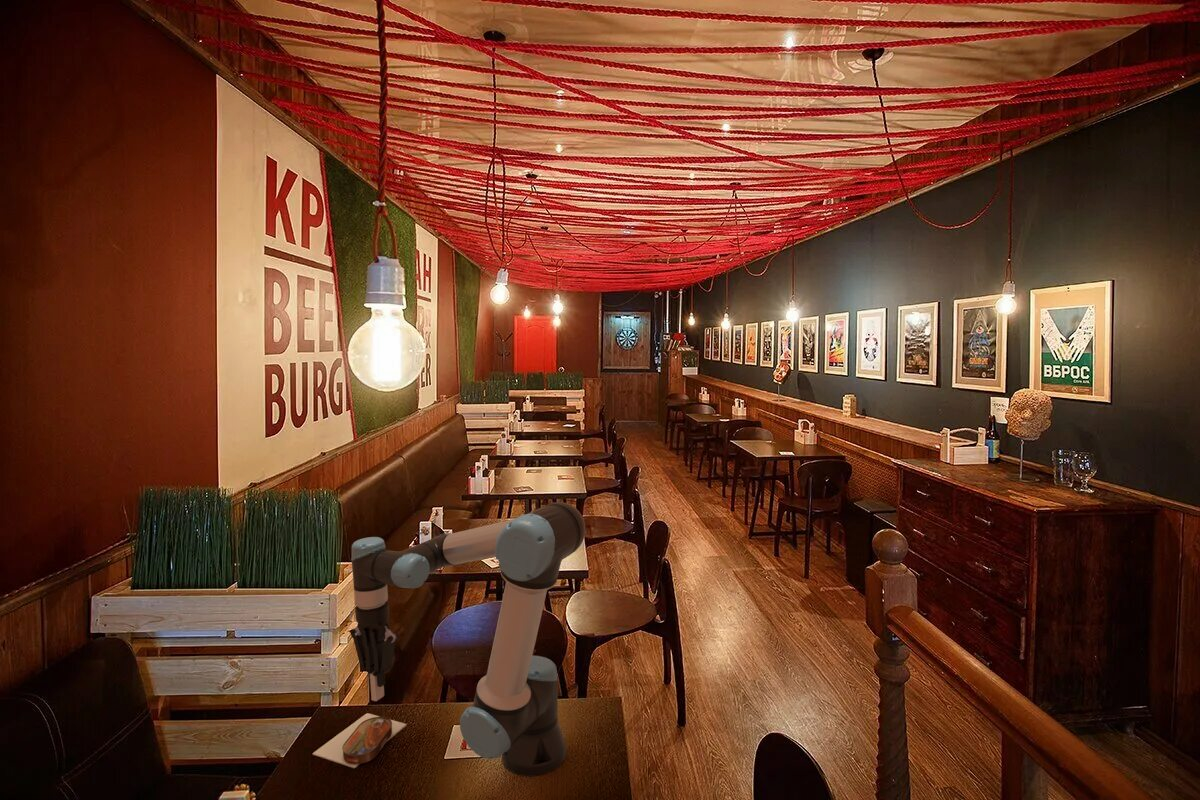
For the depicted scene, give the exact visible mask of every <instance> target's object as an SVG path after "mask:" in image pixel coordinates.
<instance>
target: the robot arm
mask: <svg viewBox="0 0 1200 800" xmlns="http://www.w3.org/2000/svg"><path fill="white" fill-rule="evenodd" d="M585 536H586V523H585V519H584V517H583V515H582V514H581V512H580V511H579V510H578V509H577V508H576V507H575V506H574V505H572V504H570V503H567V502H563V501H558V502H550V503H548V504H546V505H544V506H542V507H539V508H537V509H533V510H531V511H530V512H529V513H526V514H525V513H524V514H522V515H519V516H517V517H515V518H513V519H509V520H504V521H500V522H496V523H492V524H488V525H482V526H479V527H474V528H470V529H465V530H461V531H457V532H446V533H442V534H438V535H436V536H435V537H432V538H430V539H428V540H426V541H424V542H421V543H419V544H415V545H413V546H411V547H409V548H406V549H403V550H401V551H396V550H390V549H386V546H387V545H386V544H385V540H384V539H383V538H382V537H378V536H370V537H364V538H360V539H357V540H356V541H354V542H353V543H352V544H351V558H350V560H351V567H352V581H353V597H354V598H353V599H354V605H355V608H354V611H355V620H356V623H357V626H355V627H354V628H353V627H352V629H350V630H349V634H350V635H351V638H352V640H353V643H354V647H355V651H356V654H357V659H358V663H359V666H360V669H361V670H365V671H366V673H367V675H368V676H367V677H368V685H369V686H370V694H371V695H370V696H371V697H370V698H371V701H374V702H378V701H379V700H381V699H382V698H384V696H385V686H384V685H386V673H387V672H388V671H390V670H391V669H392V667H393V659H394V654H395V646H396V645H395V644H396V641H397V639H398V637H399V634H398V633H397V632H394V633H393V632H392V631H391V630H390V625H389V622H388V621H389V620H388V619H389V617H390V608H389V607H390V606H389V601H388V599H389V593H388V585H390V586H394V587H399V588H402V589H417V588H420V587H422V586H423V584H424V583H425V582H426V581H427V579H428V577H429V575H430V574H432V573H434V572H436V571H438V570H440V569H444V568H446V567H451V566H455V565H461V564H465V563H466V564H467V563H471V562H476V561H480V560H481V561H482V560H485V559H486V560H487V559H491V558H495V559H496V560H498V564H497V566H498V567H499V569H500V575H501V577H502V579H503V580H504V581H505V586H504V591H503V595H502V600H501V605H500V609H499V610H500V611H499V613H498V619H497V624H496V629H495V632H494V638H493V642H492V649H491V653H490V658H489V662H488V667H487V671H486V674H485V675H483V676H482V677H481V678H480V680H478V683H477V686H476V690H475V694H474V698H473V703H472V704H471V706H468V707H466V709H465V710H464V711H463V713H462V714H461V716H460V719H459V730H460V733H461V736H462V738H463V739H464V741H465V743H466V745H467V746H468V748H469V749H470V750H471V751H472V752H474V753H475V754H476V755H477V756H479V757H482V758H483V759H488V760H493V759H498V758H499V757H501V762H502V764H503V766H504V768H506V769H507V770H508V771H510V772H512V773H514V774H517V775H519V776H525V777H526V776H529V777H533V776H534V777H535V776H540V775H544V774H545V775H546V774H547V773H550V772H553V771H554V770H556V769H557V768H559V766H561V765H562V763H563V762H564V761H565V759H566V755H567V743H566V739H565V738H564V734H563V731H562V729H561V725H560V723H559V712H558V711H559V710H558V709H559V705H558V703H559V702H558V701H559V700H558V697H559V695H558V687H559V686H558V681H559V680H558V679H559V676H558V671H557V665H556V664H555V663H554V661H552V660H551V659H549V658H547V657H545V656H541V655H534V651H535V646H536V642H537V637H538V632H539V627H540V623H541V618H542V614H543V609H544V606H545V601H546V596H547V592H548V590H550V589H552V588H553V587H555V585H556V583H557V580H558V576H559V573H560V567H561V565H562V562H563V560H564V559H566V558H567V557H569V556H571V555H572V554H573V553H575V552H577V550H578V549H580V547H581V545H582V544H583V542H584V539H585Z"/></svg>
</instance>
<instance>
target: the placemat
mask: <svg viewBox="0 0 1200 800" xmlns="http://www.w3.org/2000/svg"><path fill="white" fill-rule="evenodd" d="M374 717H380V716H379V715H375V714H373V713H372V714H371V713H365V714H364V715H362V716H361V717H359V718H358V719H357V720H356V721H354V722H353V723H352V724H351V725H349V726H348V727H346V728H345V729H344V730H342V731H341V732H339V733H337V734H336V736H334V737H333V738H332V739H331V738H330V740H328V741H327V742H326V743H325V744H323V745H322V746H320V747H319V748H318V749H317V750H315V751H314V752H313V753H312V756H316V757H320V758H322V759H326V760H328V761H331V762H334V763H337V764H340V765H342V766H346V767H349V768H351V769H355V768H357V767H359V765H360V764H354V763H348V762H346V761H345V760H344V757H343V749H342V748H343V745H344V743H345V742H346V740H347V739H348V738H349V737H350V736H351V734H352V733H353V732H354V731H355V729H356V728H357V727H358V726H359V724H361V723H362V722H363V721H365V720H367V719H370V718H374ZM390 720H391V721H392V734H391V736H390V738H389V739H388V741H390V739H392V738H393V737H394V736H396V735H397V734H398V733H399V732H401V731H402V730H403V729H404V728H405V727H406V726H407V723H404V722H401V721H397V720H393V719H390Z"/></svg>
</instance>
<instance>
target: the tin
mask: <svg viewBox="0 0 1200 800" xmlns="http://www.w3.org/2000/svg"><path fill="white" fill-rule="evenodd" d="M391 720H392V719H390V718H388V717H386V716H379V717H374V718H370V719H367V720H365V721H363V722H362V723H361V724H359V726H358V727H357V728H356V729H355V731H354V732H353V733H352V734H351V736H350V737H349V738H348V739H347V740H346V742H345V743H344V745H343V748H342V749H343V757H344V760H345V761H346V762H348V763H354V764H359V765H362V764H365V763H368V762H371V761H372V760H374V759H375V758H376V757H377V755H378V754H379V753H380V752H381V751H382V749H383V748H384V746H385V744H386V743H387V742H388V741H389V740H390V739H389V738H390V736H391V734H392V721H391ZM388 739H389V740H388Z"/></svg>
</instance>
